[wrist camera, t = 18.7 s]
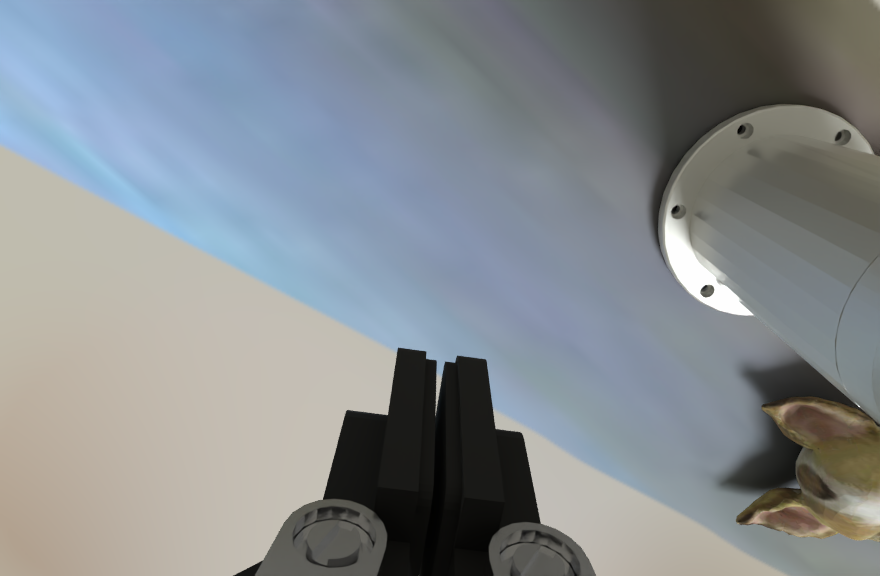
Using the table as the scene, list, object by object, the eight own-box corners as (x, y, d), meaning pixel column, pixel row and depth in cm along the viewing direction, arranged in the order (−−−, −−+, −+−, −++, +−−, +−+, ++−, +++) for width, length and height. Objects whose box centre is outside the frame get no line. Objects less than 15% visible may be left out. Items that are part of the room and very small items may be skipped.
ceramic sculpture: (1024, 610, 38) (770, 597, 39) (928, 511, 46) (719, 501, 47) (1092, 462, 34) (808, 451, 35) (975, 382, 42) (746, 374, 43)
